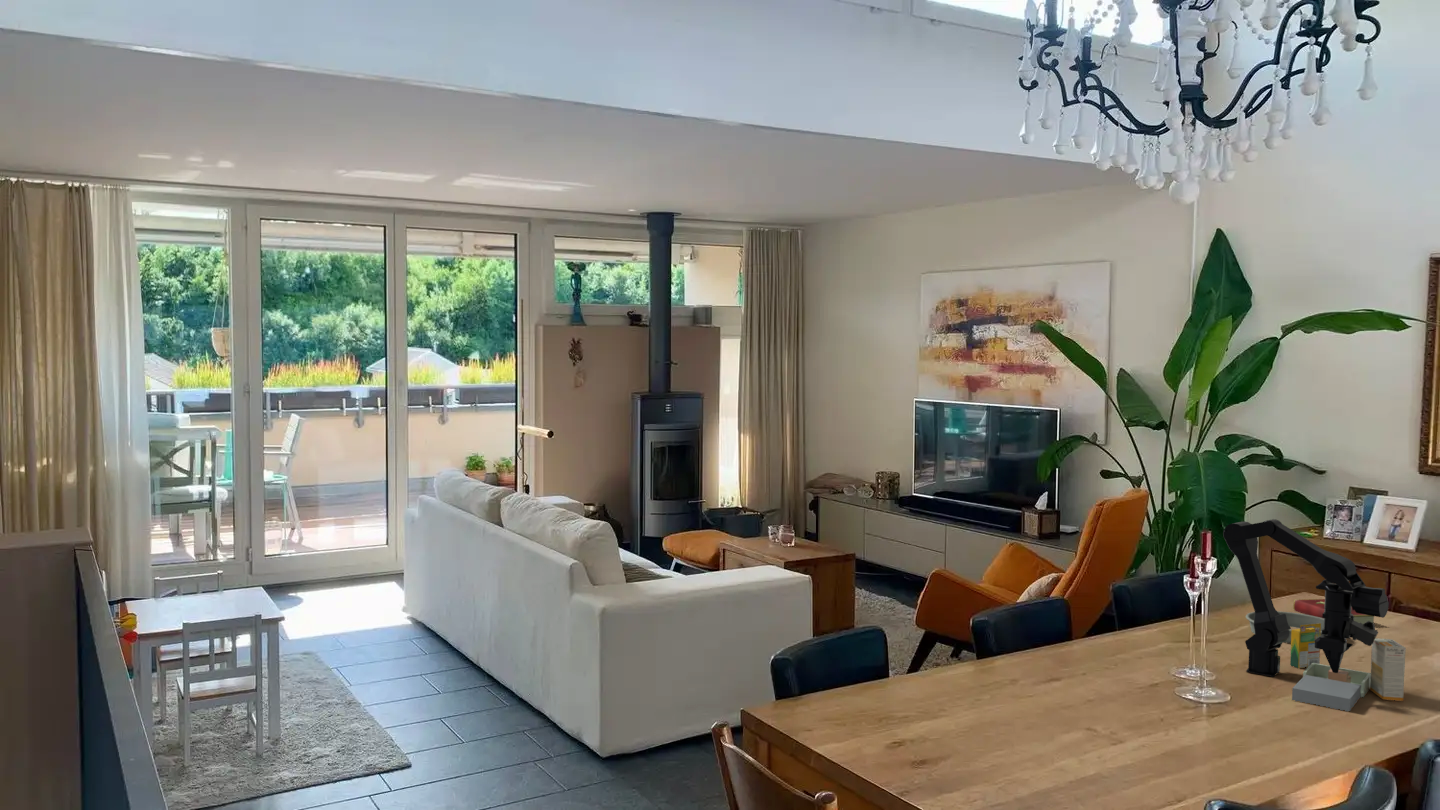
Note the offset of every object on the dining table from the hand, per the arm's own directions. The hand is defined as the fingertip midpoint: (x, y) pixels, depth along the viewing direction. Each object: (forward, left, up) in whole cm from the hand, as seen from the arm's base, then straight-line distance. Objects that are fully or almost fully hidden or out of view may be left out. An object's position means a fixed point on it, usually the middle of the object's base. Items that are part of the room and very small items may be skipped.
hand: (1335, 672), depth 266 cm
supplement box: (+10, +4, -5) cm, 12 cm away
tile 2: (0, +4, -2) cm, 5 cm away
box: (0, +3, -4) cm, 5 cm away
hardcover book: (-15, +82, -5) cm, 84 cm away
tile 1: (0, 0, -2) cm, 2 cm away
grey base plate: (0, -9, -4) cm, 10 cm away
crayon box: (-10, +18, -5) cm, 21 cm away
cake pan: (-20, +51, -5) cm, 55 cm away
